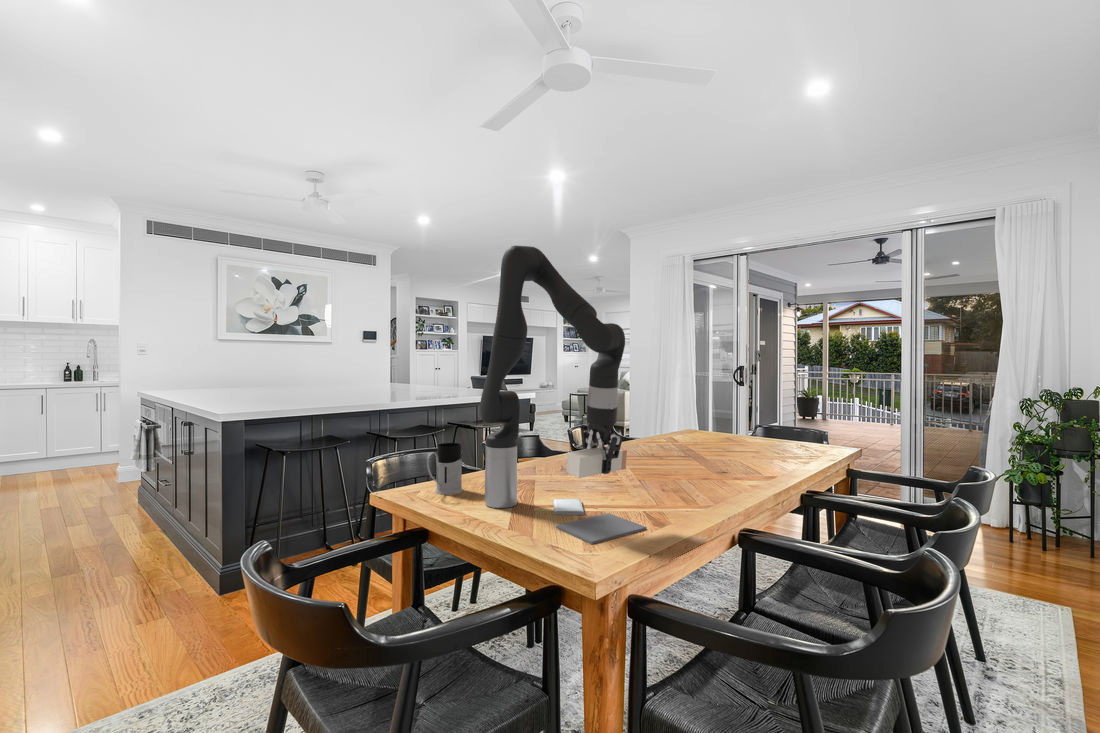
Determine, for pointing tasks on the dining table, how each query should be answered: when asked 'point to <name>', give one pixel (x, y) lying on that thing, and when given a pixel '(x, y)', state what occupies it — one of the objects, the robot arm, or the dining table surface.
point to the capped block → (592, 462)
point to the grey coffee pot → (448, 468)
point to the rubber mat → (600, 528)
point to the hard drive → (568, 507)
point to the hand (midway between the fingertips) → (598, 469)
